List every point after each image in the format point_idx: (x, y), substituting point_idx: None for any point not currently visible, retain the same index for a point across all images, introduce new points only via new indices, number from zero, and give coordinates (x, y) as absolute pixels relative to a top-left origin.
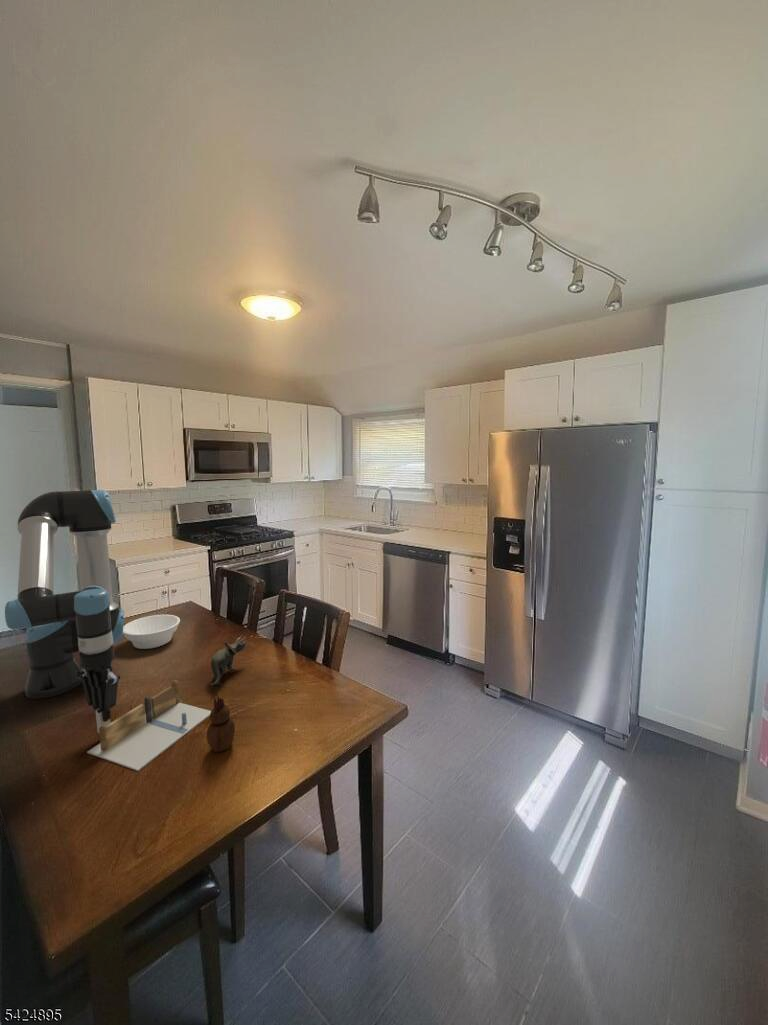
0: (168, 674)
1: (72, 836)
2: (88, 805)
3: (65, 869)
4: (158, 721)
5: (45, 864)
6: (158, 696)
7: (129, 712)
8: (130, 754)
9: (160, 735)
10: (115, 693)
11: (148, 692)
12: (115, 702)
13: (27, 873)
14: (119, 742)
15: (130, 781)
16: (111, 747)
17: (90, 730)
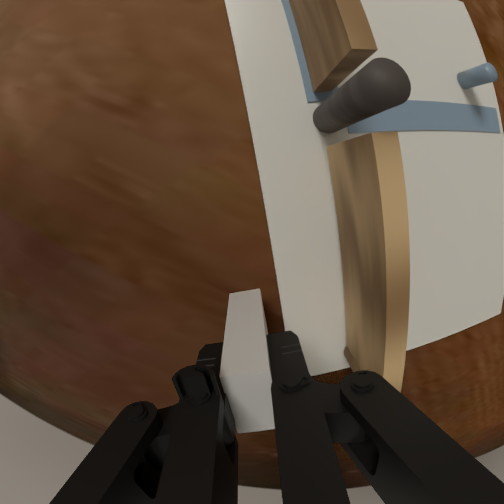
0: None
1: (477, 429)
2: (463, 409)
3: (496, 433)
4: None
5: (472, 450)
6: (361, 14)
7: (398, 255)
8: (449, 298)
9: (458, 173)
10: (466, 466)
11: (73, 18)
12: (397, 394)
13: None
14: None
15: (499, 336)
16: None
17: (138, 307)
